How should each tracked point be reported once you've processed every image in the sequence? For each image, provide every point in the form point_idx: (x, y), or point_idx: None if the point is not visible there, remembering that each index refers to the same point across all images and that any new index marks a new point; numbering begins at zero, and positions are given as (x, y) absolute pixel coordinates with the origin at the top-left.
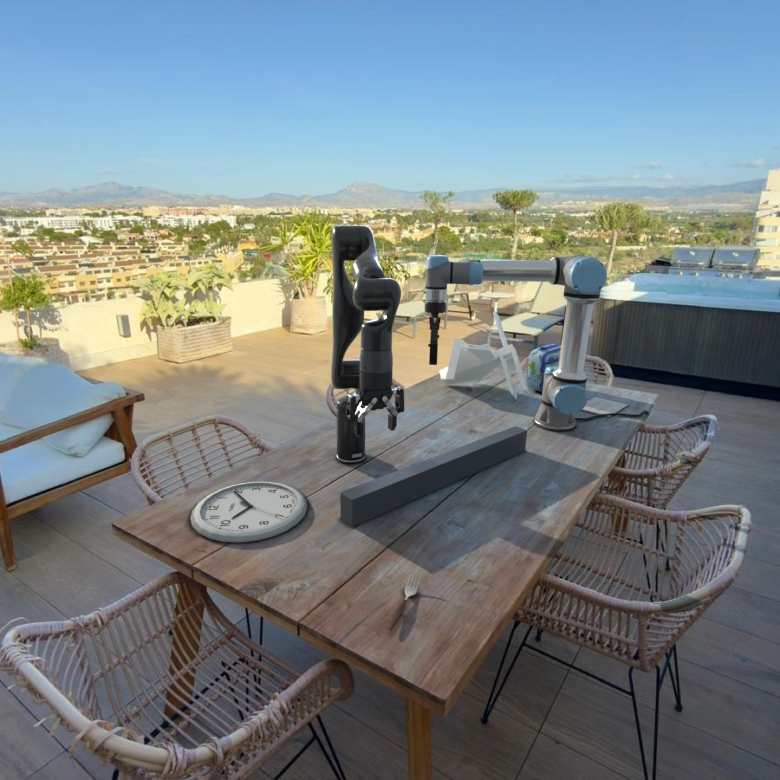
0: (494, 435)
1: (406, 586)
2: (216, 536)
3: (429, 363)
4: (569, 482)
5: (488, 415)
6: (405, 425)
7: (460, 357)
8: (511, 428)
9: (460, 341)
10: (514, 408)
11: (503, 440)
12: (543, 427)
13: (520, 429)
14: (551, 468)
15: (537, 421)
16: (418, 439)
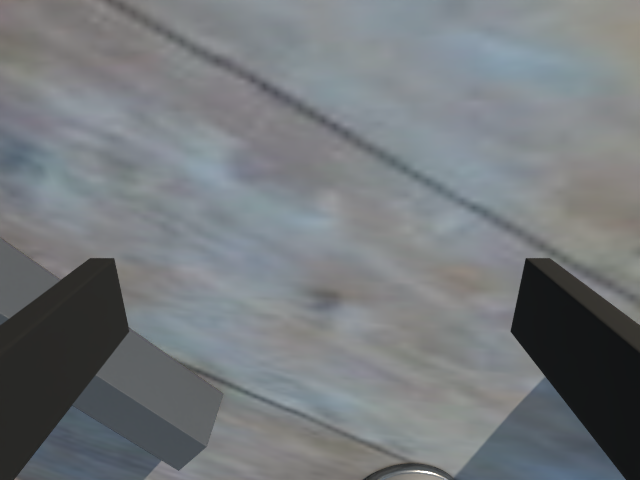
0: (100, 386)
1: None
2: None
3: (82, 266)
4: (46, 470)
5: (481, 355)
6: (361, 47)
7: None
8: (181, 435)
9: None
10: (546, 431)
11: (74, 404)
12: (370, 477)
13: (180, 456)
14: (108, 451)
15: (395, 476)
16: (217, 112)
